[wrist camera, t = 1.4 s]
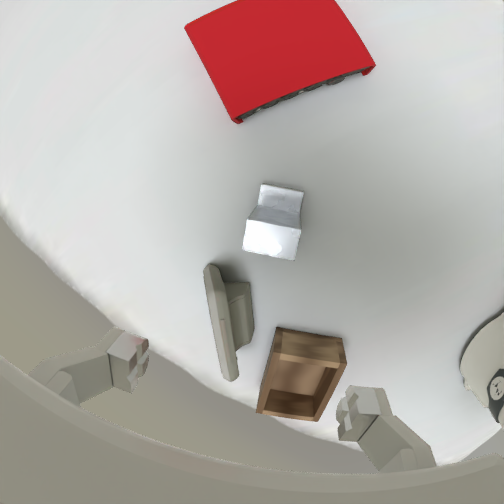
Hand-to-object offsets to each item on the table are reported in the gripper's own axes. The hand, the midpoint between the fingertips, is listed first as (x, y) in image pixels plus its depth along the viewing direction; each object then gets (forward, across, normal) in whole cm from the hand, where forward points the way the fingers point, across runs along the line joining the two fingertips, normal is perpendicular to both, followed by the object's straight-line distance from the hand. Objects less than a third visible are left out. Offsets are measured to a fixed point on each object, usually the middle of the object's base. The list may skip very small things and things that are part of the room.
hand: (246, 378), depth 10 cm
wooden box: (+27, -9, +21) cm, 35 cm away
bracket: (+27, 0, -1) cm, 27 cm away
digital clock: (+28, +3, +13) cm, 31 cm away
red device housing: (+28, +4, -22) cm, 36 cm away
